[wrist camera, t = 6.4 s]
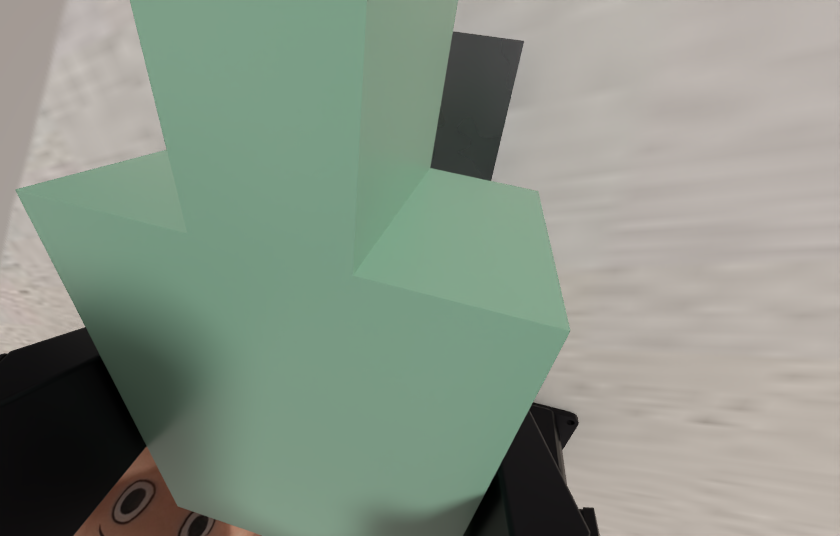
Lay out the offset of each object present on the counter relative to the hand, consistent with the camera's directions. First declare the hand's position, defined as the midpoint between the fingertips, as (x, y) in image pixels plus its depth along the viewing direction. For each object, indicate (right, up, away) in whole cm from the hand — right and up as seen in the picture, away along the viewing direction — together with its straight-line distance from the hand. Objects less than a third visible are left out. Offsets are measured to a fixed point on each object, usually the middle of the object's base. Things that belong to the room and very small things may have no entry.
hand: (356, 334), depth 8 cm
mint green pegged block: (0, +1, +1) cm, 1 cm away
